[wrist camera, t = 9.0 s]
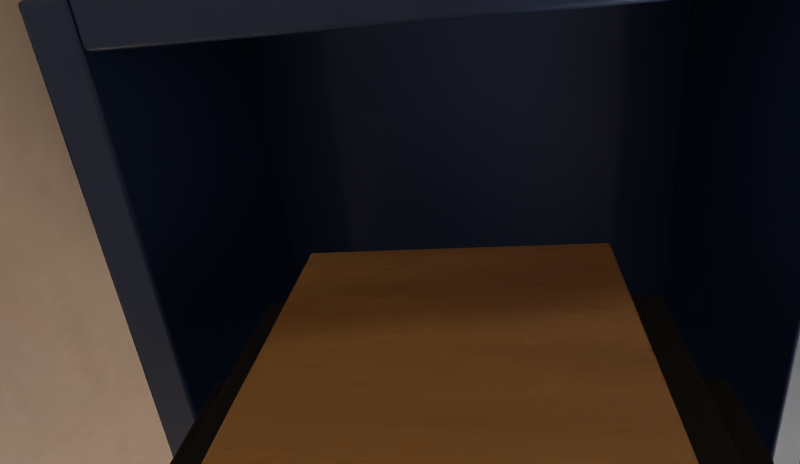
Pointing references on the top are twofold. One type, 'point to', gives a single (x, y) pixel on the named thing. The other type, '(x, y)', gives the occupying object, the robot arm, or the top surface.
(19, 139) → the top surface
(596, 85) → the case
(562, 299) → the block
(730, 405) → the robot arm
